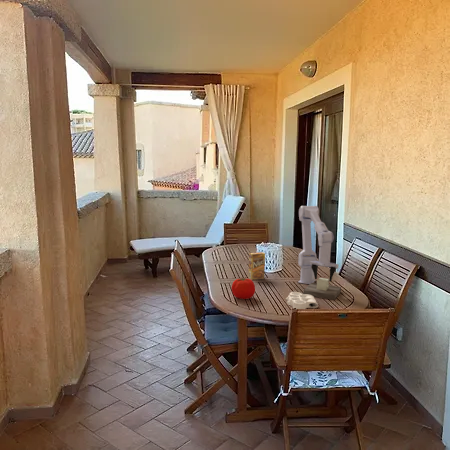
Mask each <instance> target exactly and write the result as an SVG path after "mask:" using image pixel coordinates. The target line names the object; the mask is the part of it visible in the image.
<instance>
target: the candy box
mask: <svg viewBox="0 0 450 450" xmlns="http://www.w3.org/2000/svg"><path fill="white" fill-rule="evenodd" d="M265 263H266V252H262V251H259V252H249V253H248V276H247V277H248V278H247V279H251V280H252V281H253V280H262V279H263V280H264V279H265V273H266V271H265V270H266V269H265V267H266V266H265V265H266V264H265Z"/></svg>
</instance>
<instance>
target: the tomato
mask: <svg viewBox="0 0 450 450" xmlns="http://www.w3.org/2000/svg"><path fill="white" fill-rule="evenodd" d="M231 292H232V295H233V296H234V297H235V298H237V299H240V300H246V299H251V298H252V297H254V295H255V293H256V285H255V282H254V281H253V280H251V279H249V278H247V277H246V276H245V277H242V278H237V279H234V281H233V282H232V284H231Z"/></svg>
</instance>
